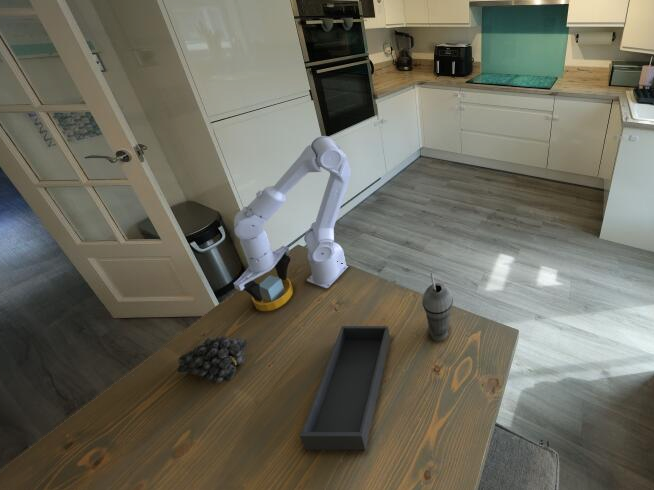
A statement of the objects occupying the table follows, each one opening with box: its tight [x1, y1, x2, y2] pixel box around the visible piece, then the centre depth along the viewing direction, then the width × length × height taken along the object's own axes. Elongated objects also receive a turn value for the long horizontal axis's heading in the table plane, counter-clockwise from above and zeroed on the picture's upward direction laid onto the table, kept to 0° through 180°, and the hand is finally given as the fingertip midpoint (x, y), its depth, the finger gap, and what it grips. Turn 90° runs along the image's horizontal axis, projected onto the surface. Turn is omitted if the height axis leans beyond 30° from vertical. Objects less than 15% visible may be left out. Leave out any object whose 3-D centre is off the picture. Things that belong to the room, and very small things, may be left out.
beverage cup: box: [421, 272, 454, 342], centre depth 75 cm, size 7×7×20 cm
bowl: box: [251, 276, 294, 312], centre depth 87 cm, size 9×9×3 cm
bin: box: [299, 325, 391, 451], centre depth 66 cm, size 21×11×5 cm, turn 0°
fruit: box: [176, 335, 248, 385], centre depth 69 cm, size 9×8×15 cm
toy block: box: [259, 274, 285, 302], centre depth 87 cm, size 4×4×6 cm
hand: (271, 288), depth 86 cm, fingers open, 7 cm apart
